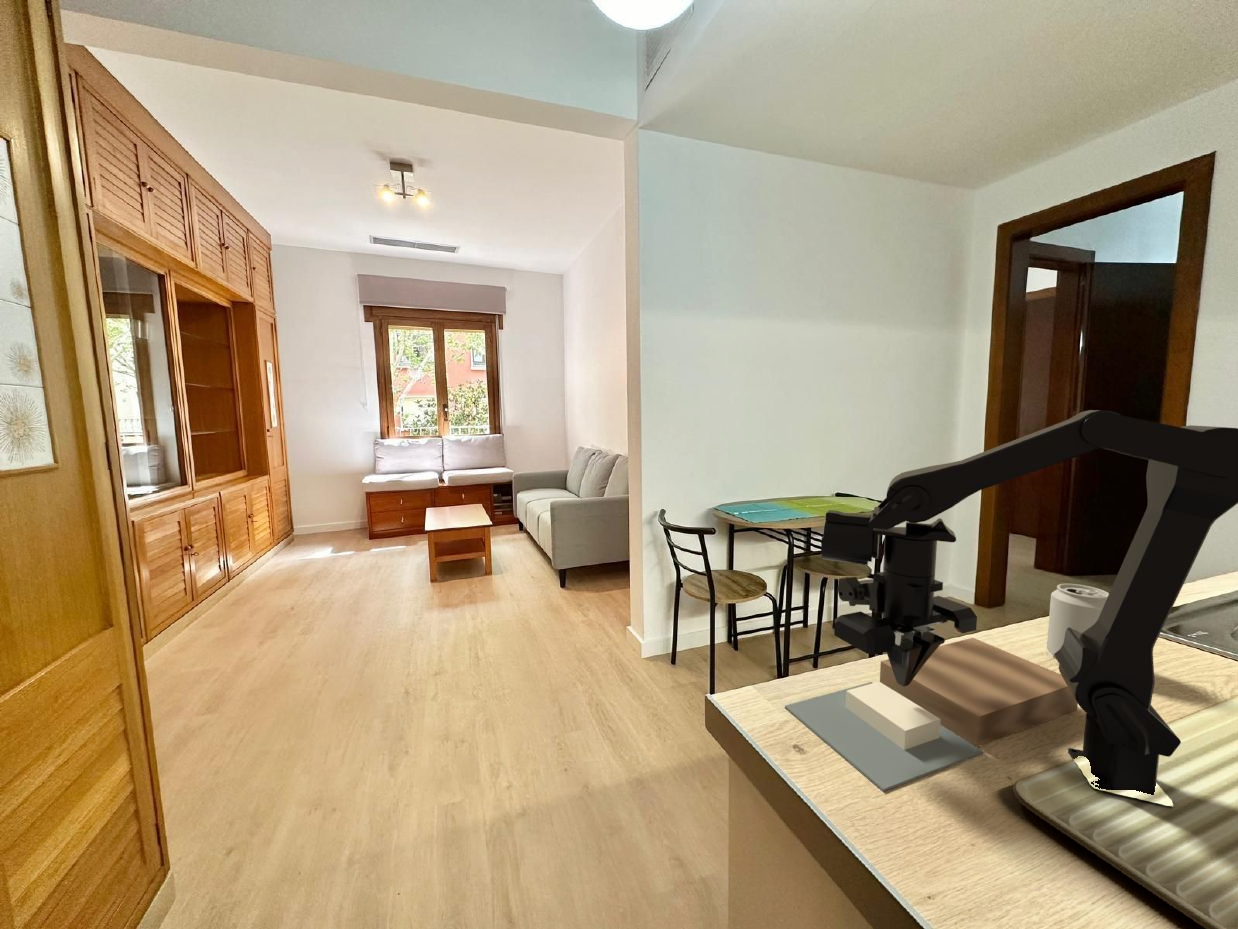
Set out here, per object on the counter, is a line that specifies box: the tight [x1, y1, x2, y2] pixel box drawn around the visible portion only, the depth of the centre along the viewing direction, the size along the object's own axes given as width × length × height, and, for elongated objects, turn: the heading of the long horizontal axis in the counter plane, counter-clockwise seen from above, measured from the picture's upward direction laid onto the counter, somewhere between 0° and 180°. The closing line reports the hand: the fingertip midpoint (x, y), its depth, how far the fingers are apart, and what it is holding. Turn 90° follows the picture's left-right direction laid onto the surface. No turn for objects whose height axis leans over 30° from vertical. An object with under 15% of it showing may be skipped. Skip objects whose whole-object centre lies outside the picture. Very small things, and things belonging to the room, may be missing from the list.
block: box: [879, 637, 1079, 748], centre depth 68 cm, size 20×14×4 cm
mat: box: [784, 681, 984, 792], centre depth 62 cm, size 16×16×1 cm
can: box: [1046, 583, 1110, 659], centre depth 78 cm, size 8×8×12 cm
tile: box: [846, 681, 941, 750], centre depth 63 cm, size 6×9×2 cm, turn 20°
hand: (902, 684), depth 63 cm, fingers closed
